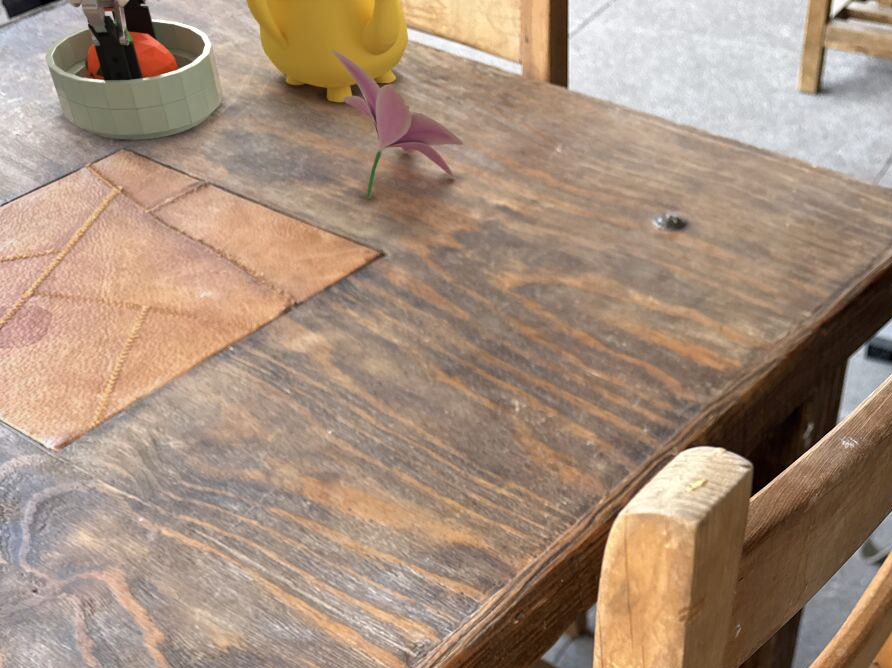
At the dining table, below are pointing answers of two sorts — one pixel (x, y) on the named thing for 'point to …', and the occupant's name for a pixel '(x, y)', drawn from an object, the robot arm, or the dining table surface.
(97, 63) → the pumpkin
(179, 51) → the bowl
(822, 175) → the dining table surface
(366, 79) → the lily
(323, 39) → the yellow rounded piece
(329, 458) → the dining table surface
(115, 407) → the dining table surface
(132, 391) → the dining table surface
